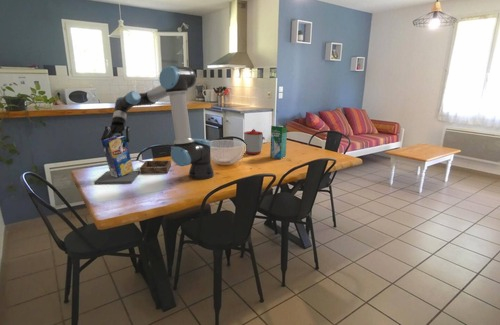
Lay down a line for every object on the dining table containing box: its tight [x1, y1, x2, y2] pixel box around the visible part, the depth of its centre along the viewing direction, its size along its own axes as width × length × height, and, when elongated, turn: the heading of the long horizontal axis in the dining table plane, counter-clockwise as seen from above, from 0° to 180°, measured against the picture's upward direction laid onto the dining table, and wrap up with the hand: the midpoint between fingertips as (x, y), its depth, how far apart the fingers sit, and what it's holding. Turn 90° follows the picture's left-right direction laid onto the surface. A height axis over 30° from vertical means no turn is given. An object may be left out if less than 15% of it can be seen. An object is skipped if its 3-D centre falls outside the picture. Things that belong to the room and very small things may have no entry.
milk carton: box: [269, 125, 288, 160], centre depth 227 cm, size 9×9×25 cm
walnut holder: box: [139, 160, 172, 175], centre depth 194 cm, size 16×16×4 cm
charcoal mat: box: [93, 170, 141, 185], centre depth 177 cm, size 20×20×2 cm
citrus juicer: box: [243, 128, 266, 155], centre depth 240 cm, size 16×17×20 cm
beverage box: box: [101, 134, 134, 177], centre depth 174 cm, size 7×11×22 cm, turn 148°
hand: (113, 151), depth 170 cm, fingers closed on beverage box, 8 cm apart
